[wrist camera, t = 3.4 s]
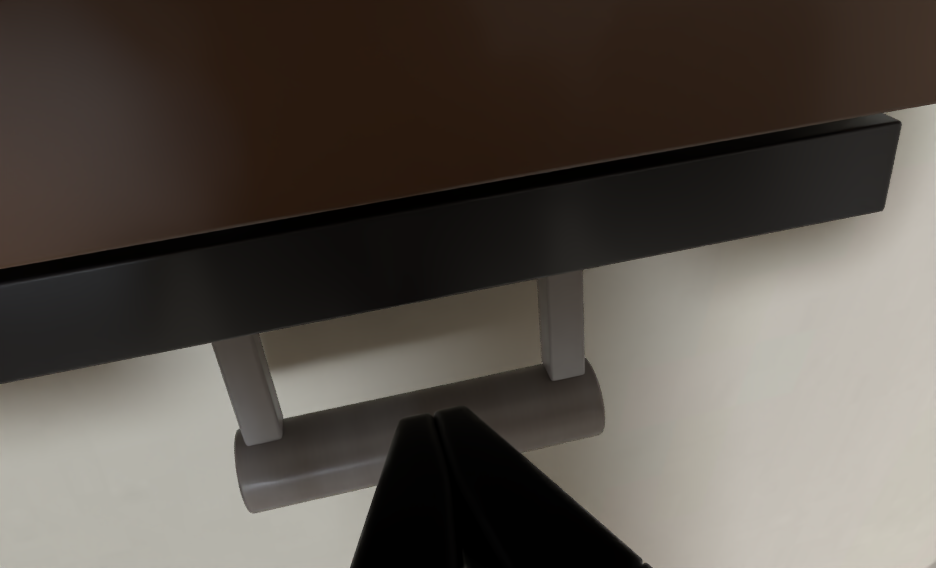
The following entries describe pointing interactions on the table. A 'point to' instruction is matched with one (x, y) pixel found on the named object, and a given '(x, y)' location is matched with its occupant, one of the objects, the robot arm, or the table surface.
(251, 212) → the cabinet
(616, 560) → the robot arm
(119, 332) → the drawer
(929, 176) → the table surface
